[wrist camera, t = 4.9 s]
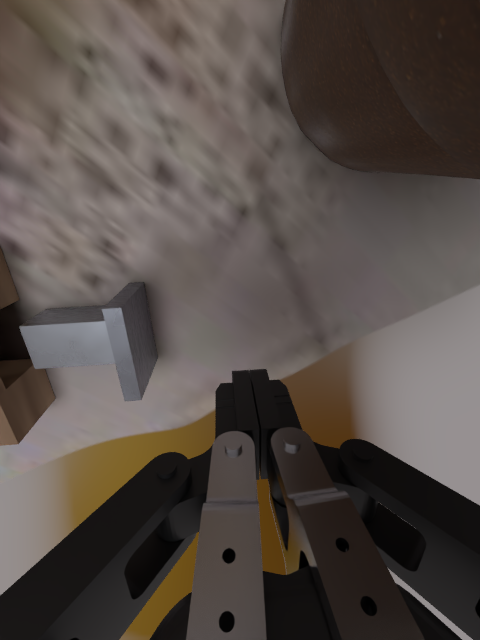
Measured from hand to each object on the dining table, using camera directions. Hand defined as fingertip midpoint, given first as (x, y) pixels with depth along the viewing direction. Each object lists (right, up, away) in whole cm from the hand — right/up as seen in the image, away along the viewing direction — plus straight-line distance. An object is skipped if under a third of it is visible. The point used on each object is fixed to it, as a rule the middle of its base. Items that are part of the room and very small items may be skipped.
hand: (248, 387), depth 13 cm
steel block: (-11, +3, +8) cm, 14 cm away
